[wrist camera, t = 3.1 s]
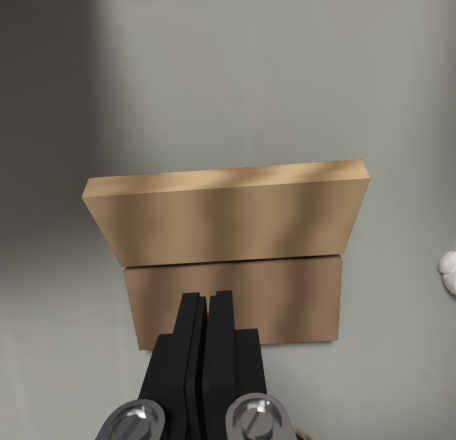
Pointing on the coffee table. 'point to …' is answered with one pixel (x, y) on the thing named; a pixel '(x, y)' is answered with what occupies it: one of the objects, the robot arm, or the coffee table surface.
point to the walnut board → (243, 296)
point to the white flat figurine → (448, 270)
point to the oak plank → (228, 212)
